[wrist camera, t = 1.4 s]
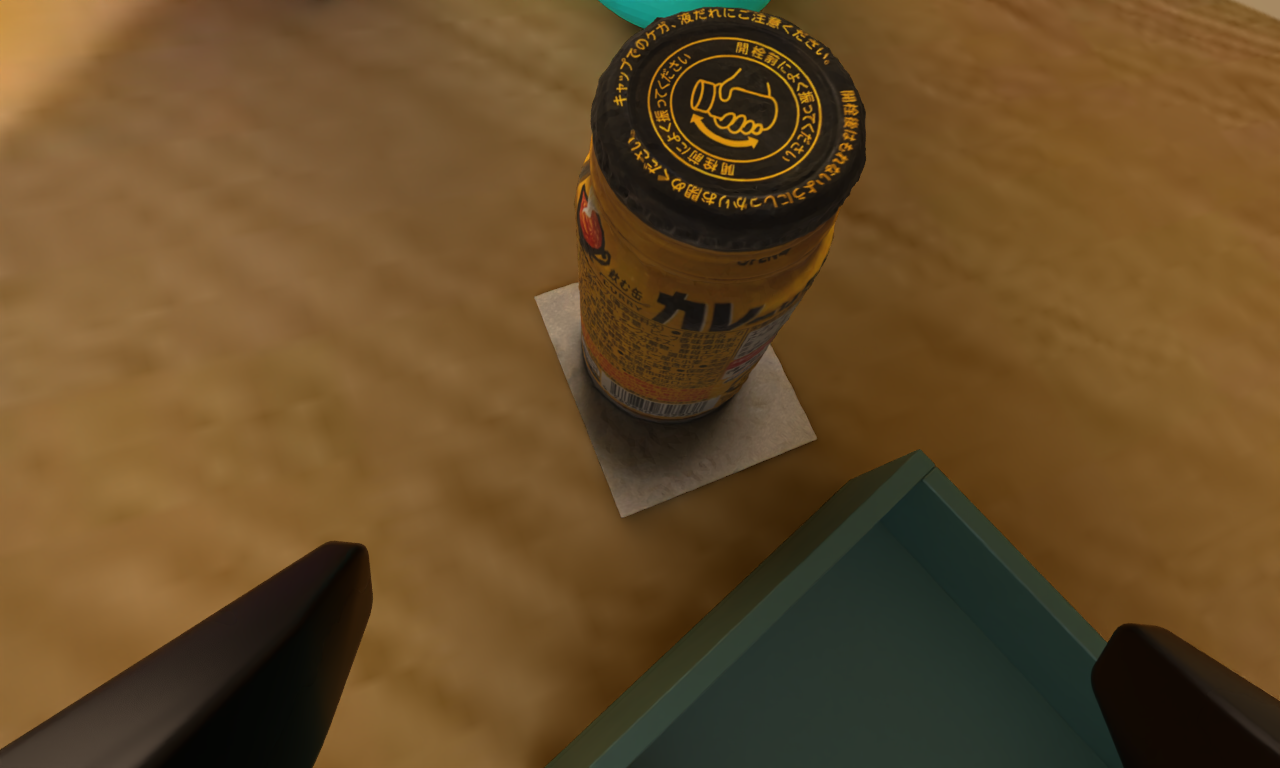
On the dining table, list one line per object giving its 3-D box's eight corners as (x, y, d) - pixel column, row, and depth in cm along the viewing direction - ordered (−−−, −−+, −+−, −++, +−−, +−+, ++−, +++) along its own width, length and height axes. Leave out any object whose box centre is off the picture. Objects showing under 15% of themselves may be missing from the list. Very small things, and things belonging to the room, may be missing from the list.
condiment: (716, 238, 25) (817, -68, 13) (816, 440, 22) (1042, 281, 11) (534, 299, 23) (473, 19, 12) (620, 519, 21) (647, 433, 10)
